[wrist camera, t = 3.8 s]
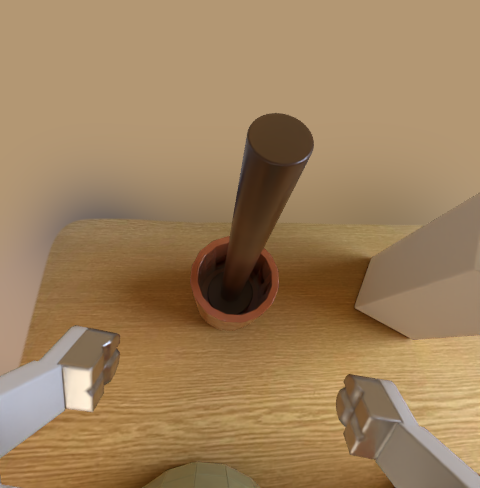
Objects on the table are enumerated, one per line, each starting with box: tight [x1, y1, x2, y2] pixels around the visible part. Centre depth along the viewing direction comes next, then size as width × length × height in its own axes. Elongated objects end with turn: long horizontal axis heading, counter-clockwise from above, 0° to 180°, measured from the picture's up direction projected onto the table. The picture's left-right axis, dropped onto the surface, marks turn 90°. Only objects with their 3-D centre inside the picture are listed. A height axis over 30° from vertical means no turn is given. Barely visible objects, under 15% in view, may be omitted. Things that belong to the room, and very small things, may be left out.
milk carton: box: [355, 193, 480, 340], centre depth 22 cm, size 7×7×19 cm
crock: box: [190, 236, 279, 331], centre depth 25 cm, size 7×7×8 cm
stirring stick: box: [208, 113, 314, 315], centre depth 18 cm, size 5×5×22 cm
